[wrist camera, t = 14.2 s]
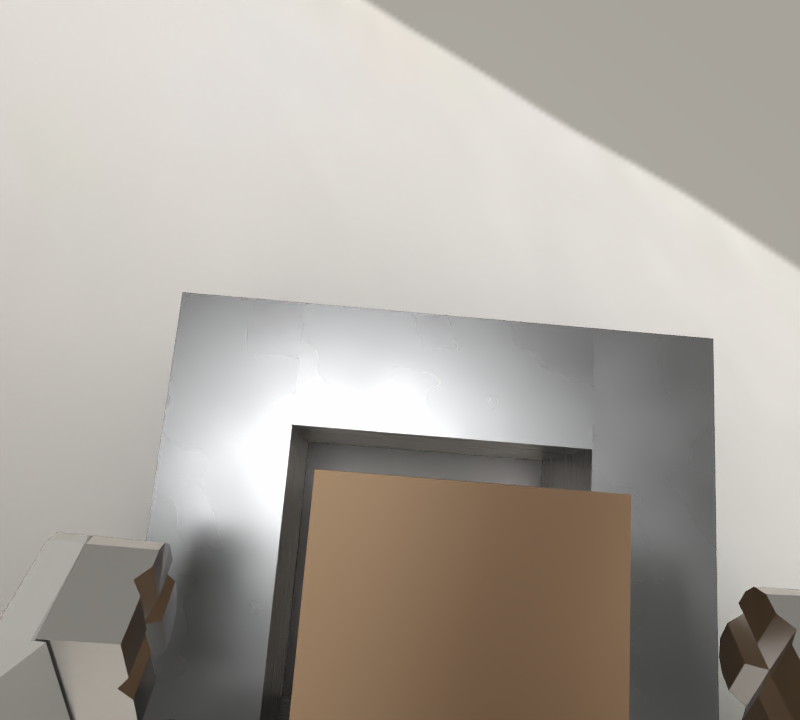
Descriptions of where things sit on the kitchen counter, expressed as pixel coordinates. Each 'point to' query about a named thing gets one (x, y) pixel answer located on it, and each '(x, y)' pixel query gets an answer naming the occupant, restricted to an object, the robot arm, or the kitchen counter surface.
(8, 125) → the kitchen counter surface
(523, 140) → the kitchen counter surface
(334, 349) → the steel socket
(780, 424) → the kitchen counter surface
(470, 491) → the walnut key peg
